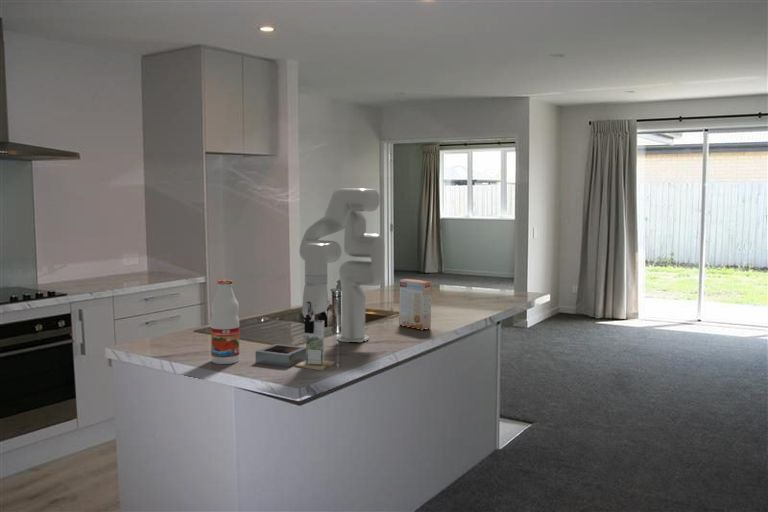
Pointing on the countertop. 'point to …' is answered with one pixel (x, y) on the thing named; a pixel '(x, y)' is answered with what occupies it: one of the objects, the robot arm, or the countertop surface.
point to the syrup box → (315, 344)
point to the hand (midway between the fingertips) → (316, 329)
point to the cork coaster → (317, 367)
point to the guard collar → (281, 355)
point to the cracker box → (415, 303)
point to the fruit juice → (225, 325)
